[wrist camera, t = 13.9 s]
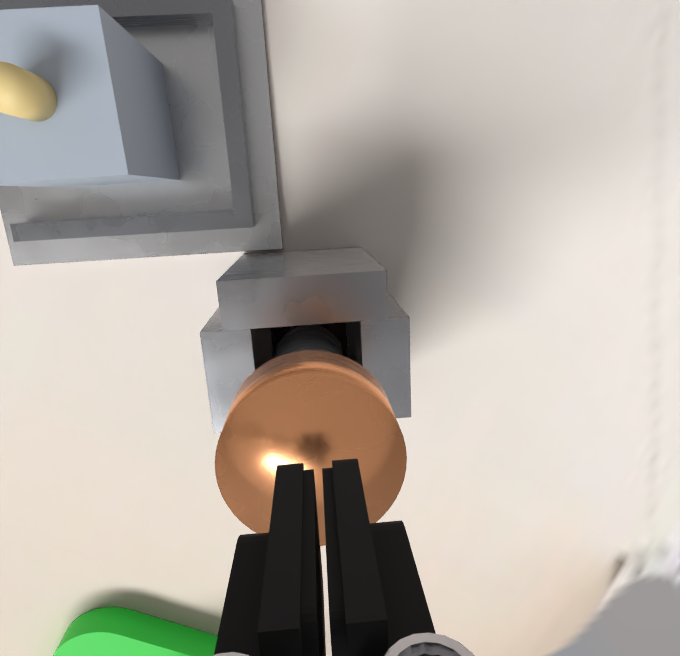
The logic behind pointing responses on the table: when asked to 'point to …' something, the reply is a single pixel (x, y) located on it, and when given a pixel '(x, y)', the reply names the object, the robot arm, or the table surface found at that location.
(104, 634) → the mechanical part
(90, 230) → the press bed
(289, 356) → the plunger
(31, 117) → the light blue block
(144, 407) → the table surface
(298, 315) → the copper disc holder
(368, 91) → the table surface
